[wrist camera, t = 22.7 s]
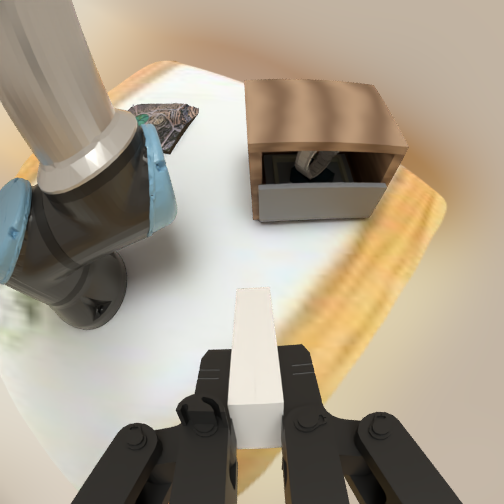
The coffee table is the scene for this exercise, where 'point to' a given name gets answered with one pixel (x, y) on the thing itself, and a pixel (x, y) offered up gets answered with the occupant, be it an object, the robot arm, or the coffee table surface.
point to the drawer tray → (314, 193)
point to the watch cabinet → (321, 127)
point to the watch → (312, 167)
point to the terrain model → (166, 121)
